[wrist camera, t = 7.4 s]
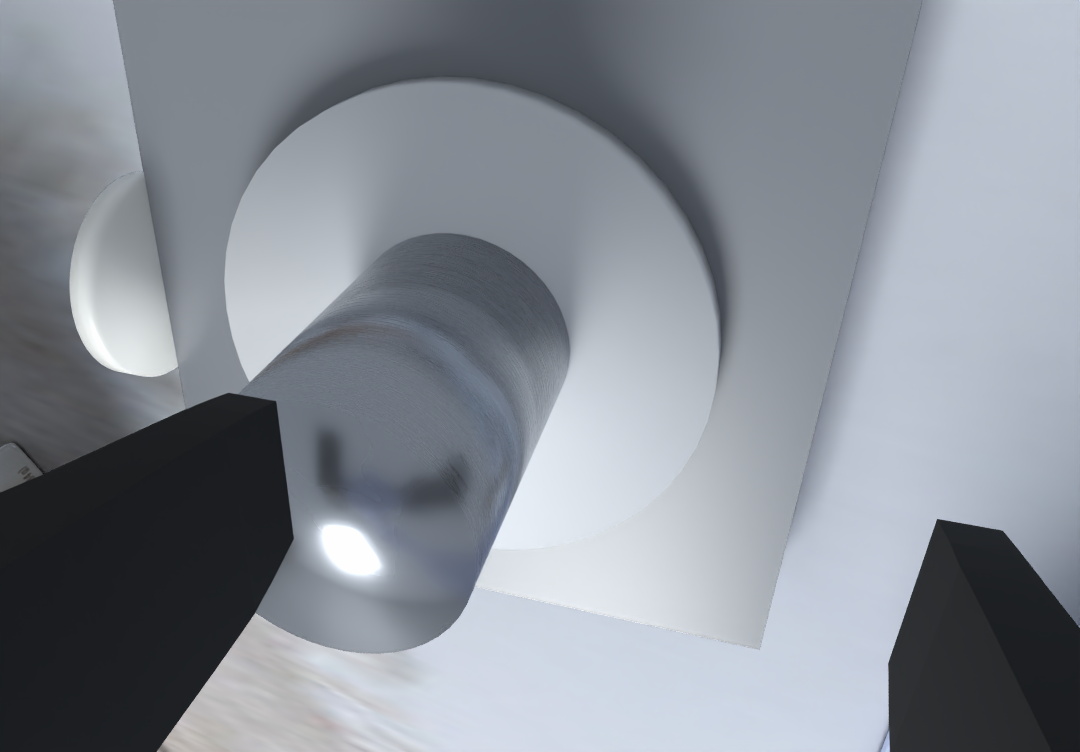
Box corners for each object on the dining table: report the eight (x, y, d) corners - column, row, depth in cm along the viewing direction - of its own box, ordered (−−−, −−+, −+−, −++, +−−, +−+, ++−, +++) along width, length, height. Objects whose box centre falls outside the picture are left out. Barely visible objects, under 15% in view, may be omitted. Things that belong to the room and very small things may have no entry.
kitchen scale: (763, 576, 23) (755, 724, 19) (230, 466, 26) (128, 577, 22) (908, -29, 16) (942, 12, 12) (144, -92, 18) (-31, -76, 14)
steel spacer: (556, 456, 18) (464, 684, 13) (353, 409, 19) (194, 610, 14) (583, 258, 16) (486, 444, 11) (353, 212, 17) (162, 369, 12)
